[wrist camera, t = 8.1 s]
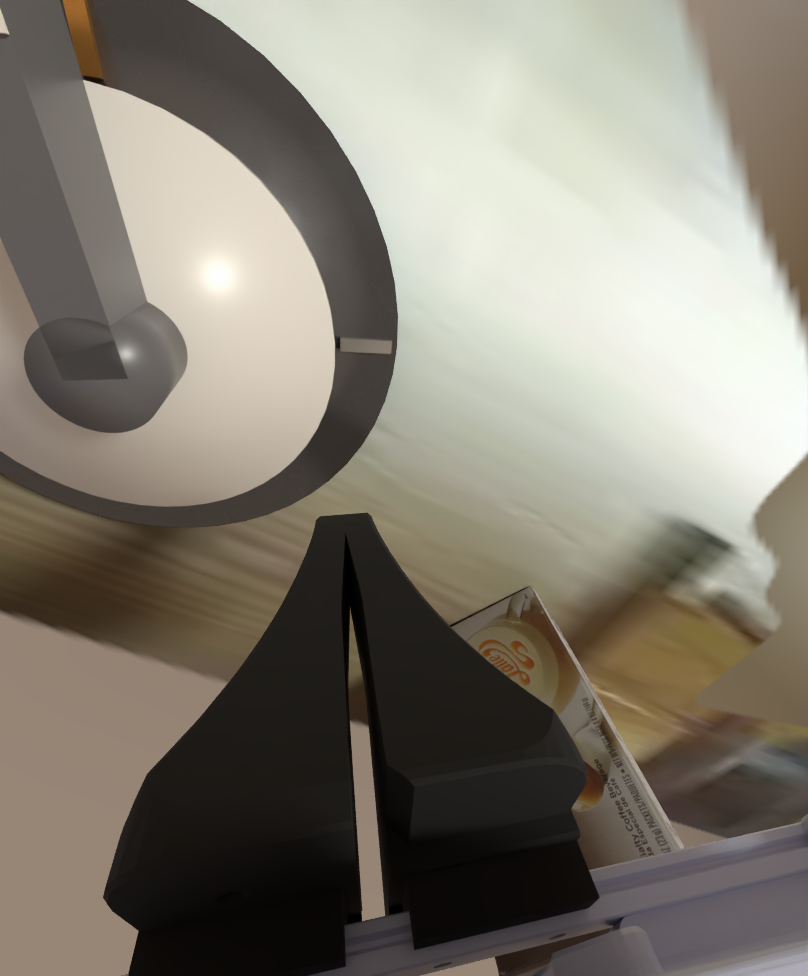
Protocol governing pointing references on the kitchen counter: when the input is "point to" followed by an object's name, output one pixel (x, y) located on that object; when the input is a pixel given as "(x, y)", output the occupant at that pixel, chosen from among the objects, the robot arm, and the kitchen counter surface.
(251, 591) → the kitchen counter surface
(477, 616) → the coffee box
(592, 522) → the kitchen counter surface
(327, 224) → the dial plate
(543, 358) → the kitchen counter surface
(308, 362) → the dial
